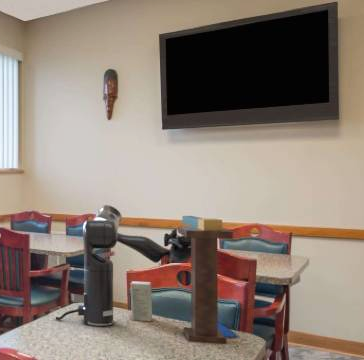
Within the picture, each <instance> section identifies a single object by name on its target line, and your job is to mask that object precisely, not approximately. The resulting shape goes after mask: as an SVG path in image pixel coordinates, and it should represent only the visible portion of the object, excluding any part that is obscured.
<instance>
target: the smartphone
mask: <svg viewBox="0 0 364 360" xmlns="http://www.w3.org/2000/svg"><path fill="white" fill-rule="evenodd" d="M218 329H219V330H220V331H221V332H222V334H223V335H224V336H225V337H226V339H228V338H229V339H230V338H231V339H236V338H238V335H237V334H236V333H234V332H233V331H232V330H230V329H229V328H228V327H226V326H225V325H224V324H222V323H221V322H220V321H218Z"/></svg>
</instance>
